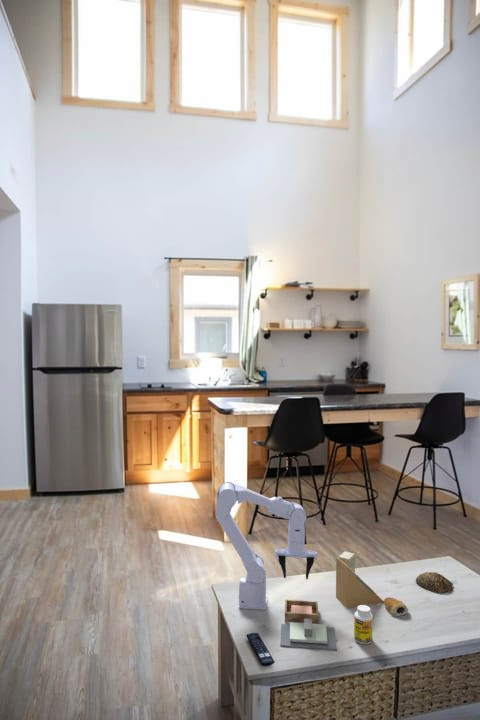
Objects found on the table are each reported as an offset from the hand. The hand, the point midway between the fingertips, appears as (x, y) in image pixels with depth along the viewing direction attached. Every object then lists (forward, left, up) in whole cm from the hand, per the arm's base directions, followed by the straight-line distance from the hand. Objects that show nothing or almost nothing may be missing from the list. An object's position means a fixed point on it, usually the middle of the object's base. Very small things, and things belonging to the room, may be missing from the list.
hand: (295, 577), depth 187 cm
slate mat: (+4, -21, -9) cm, 23 cm away
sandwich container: (+23, +6, -10) cm, 26 cm away
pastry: (+34, 0, -10) cm, 36 cm away
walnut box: (+2, -8, -9) cm, 13 cm away
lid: (+4, -20, -9) cm, 23 cm away
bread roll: (+53, +20, -10) cm, 58 cm away
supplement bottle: (+21, -20, -10) cm, 31 cm away
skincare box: (+19, +15, -10) cm, 26 cm away
